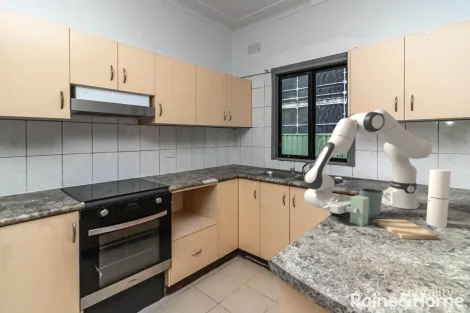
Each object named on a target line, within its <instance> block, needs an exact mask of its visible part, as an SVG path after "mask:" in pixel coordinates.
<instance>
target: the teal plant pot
mask: <svg viewBox="0 0 470 313" xmlns="http://www.w3.org/2000/svg"><path fill="white" fill-rule="evenodd" d="M383 191H384V190H381V189H378V188H377V189H376V188H370V187H369V188H366V187H365V188H360V196H363V197H368V198H369V211H368V216H369V215H370V216H379V215H380V214H381V208H382V207H381V206H382V202H381V200H382V195H383Z"/></svg>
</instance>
